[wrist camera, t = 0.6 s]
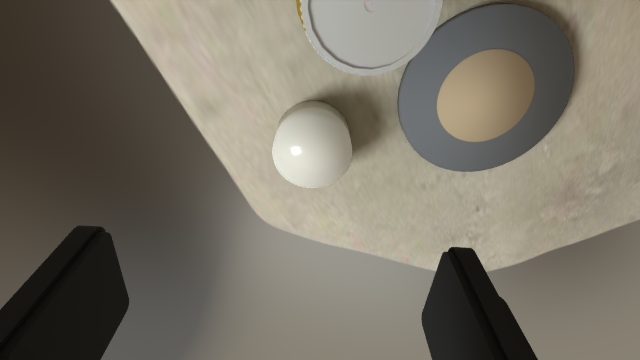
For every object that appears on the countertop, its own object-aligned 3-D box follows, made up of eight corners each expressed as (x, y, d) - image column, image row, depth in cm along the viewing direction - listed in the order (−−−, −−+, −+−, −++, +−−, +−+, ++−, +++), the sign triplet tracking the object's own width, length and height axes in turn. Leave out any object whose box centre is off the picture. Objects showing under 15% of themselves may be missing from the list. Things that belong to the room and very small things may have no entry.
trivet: (415, -3, 29) (418, -2, 28) (597, 9, 29) (607, 11, 28) (385, 162, 36) (387, 168, 36) (531, 170, 37) (536, 175, 36)
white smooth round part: (276, 98, 33) (271, 114, 30) (352, 102, 33) (356, 118, 30) (276, 165, 37) (272, 186, 33) (345, 168, 37) (348, 190, 34)
